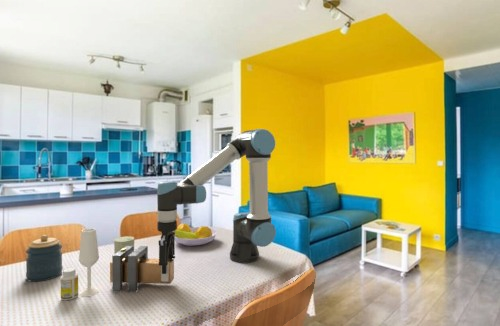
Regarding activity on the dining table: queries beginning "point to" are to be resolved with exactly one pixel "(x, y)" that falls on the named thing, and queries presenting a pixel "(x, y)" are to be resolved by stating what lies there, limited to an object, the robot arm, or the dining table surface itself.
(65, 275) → the supplement bottle
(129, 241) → the can
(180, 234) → the fruit bowl
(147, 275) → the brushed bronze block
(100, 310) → the dining table surface
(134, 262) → the collar
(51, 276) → the canister
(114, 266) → the collar
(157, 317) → the dining table surface
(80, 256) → the champagne flute
